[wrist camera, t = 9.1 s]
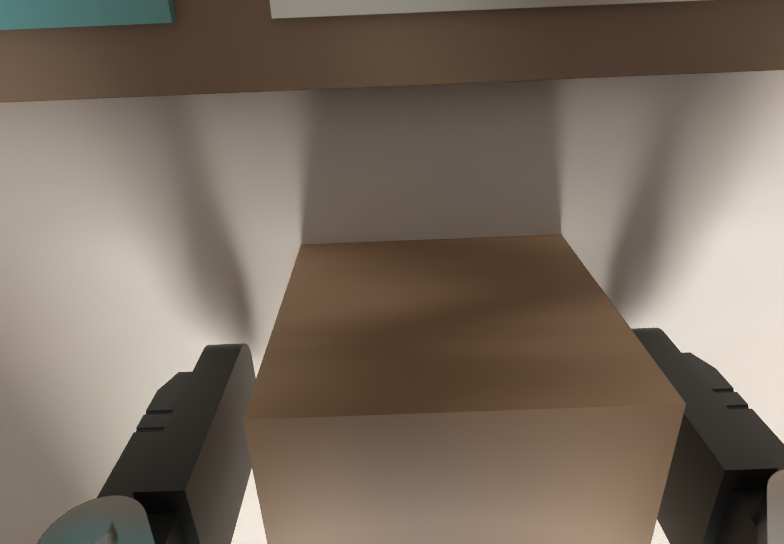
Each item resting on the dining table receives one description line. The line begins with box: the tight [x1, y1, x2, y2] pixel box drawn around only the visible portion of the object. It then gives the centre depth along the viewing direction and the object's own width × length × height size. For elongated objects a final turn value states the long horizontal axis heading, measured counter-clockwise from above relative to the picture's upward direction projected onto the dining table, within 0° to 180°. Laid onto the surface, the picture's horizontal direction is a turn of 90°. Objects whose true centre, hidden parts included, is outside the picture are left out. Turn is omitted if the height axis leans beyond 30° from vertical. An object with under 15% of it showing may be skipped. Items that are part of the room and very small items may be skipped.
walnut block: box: [243, 235, 686, 544], centre depth 10 cm, size 5×5×5 cm
